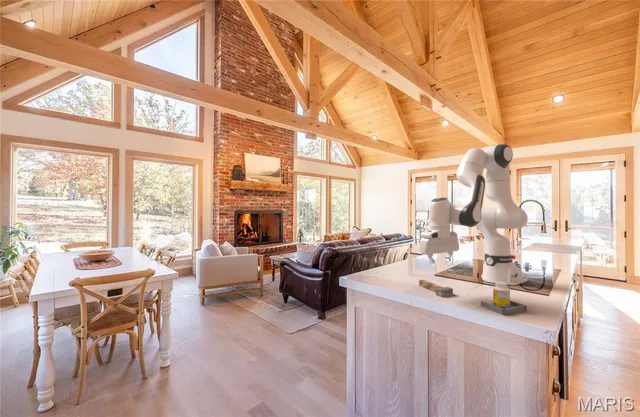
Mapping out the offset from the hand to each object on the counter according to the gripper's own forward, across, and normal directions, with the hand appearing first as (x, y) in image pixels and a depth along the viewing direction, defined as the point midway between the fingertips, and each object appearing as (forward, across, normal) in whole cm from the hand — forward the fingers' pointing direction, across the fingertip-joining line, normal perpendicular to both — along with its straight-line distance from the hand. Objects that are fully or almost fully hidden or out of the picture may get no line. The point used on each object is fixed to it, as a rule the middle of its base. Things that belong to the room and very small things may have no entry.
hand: (440, 262), depth 130 cm
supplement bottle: (+15, -8, +24) cm, 29 cm away
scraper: (+15, +1, -4) cm, 15 cm away
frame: (+14, -8, +24) cm, 29 cm away
